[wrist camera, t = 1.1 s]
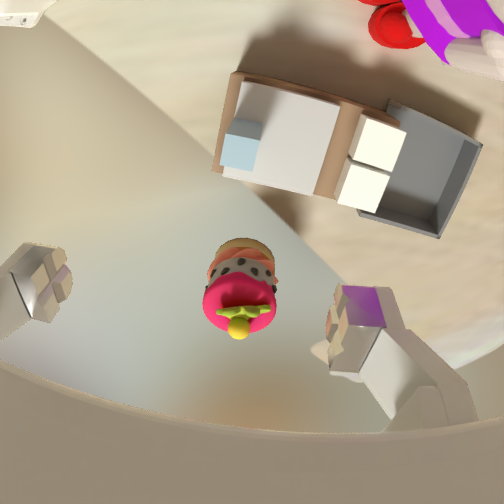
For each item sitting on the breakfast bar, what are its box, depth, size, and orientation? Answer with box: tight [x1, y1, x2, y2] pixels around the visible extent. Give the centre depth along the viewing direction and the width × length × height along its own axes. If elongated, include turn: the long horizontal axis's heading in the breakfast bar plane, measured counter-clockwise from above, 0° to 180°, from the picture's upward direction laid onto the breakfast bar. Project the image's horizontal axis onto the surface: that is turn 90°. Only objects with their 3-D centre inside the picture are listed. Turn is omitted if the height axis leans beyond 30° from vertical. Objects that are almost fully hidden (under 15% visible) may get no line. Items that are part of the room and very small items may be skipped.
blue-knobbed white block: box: [220, 81, 340, 196], centre depth 31 cm, size 10×11×9 cm
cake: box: [203, 238, 278, 339], centre depth 47 cm, size 10×10×15 cm
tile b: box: [334, 157, 390, 213], centre depth 36 cm, size 5×5×2 cm
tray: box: [356, 99, 483, 239], centre depth 40 cm, size 14×16×5 cm
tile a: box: [348, 114, 406, 172], centre depth 33 cm, size 5×5×2 cm
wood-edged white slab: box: [212, 71, 401, 200], centre depth 38 cm, size 20×12×6 cm, turn 78°
